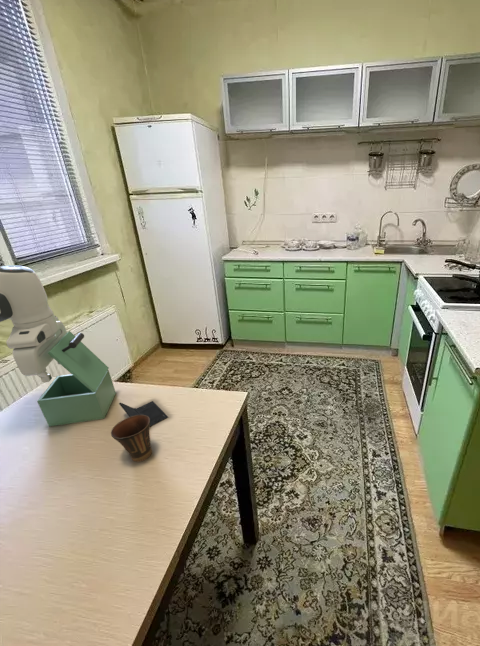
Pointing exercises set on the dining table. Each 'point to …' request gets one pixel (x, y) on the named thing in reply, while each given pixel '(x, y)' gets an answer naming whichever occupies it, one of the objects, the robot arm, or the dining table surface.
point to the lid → (79, 360)
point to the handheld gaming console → (146, 412)
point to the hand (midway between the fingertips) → (55, 371)
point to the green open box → (75, 400)
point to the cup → (134, 436)
